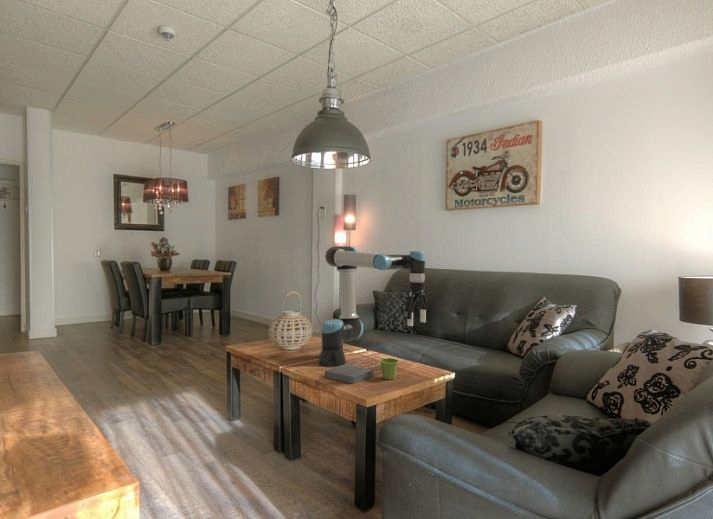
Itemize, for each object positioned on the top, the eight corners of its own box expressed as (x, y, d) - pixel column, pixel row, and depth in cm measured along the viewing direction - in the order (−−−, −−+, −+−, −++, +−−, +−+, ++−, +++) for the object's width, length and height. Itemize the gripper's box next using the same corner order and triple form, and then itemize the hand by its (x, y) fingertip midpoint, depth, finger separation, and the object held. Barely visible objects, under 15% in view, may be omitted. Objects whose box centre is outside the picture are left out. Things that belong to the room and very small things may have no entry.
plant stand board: (324, 376, 209) (324, 370, 209) (345, 369, 221) (345, 364, 221) (353, 383, 198) (353, 377, 198) (373, 376, 211) (373, 370, 210)
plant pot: (385, 381, 201) (385, 363, 201) (376, 376, 210) (376, 359, 210) (402, 379, 205) (402, 361, 205) (392, 374, 213) (393, 357, 213)
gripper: (411, 283, 201) (411, 328, 201) (434, 280, 221) (434, 321, 221) (398, 282, 205) (397, 326, 206) (421, 280, 225) (421, 320, 226)
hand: (416, 324), depth 213 cm, fingers open, 13 cm apart
